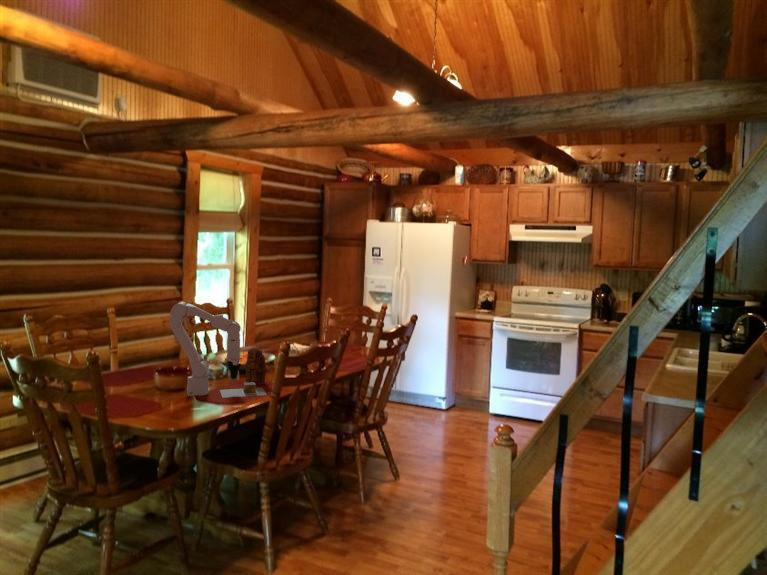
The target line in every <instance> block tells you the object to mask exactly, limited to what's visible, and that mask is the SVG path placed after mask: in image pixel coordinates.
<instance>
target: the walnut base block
mask: <svg viewBox="0 0 767 575" xmlns="http://www.w3.org/2000/svg"><path fill="white" fill-rule="evenodd" d="M256 388H257V385H256V384H255V382H246V381H245V382H243V388H242V389H243V391H244V393H245V394H248V393H256Z"/></svg>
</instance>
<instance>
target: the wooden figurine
mask: <svg viewBox="0 0 767 575" xmlns="http://www.w3.org/2000/svg"><path fill="white" fill-rule="evenodd" d="M246 356H247V357H246V361H245V362H246V364H245V366H246V367H245V383H246V382H255V384H256V386H258V385H264V384H265V382H266V357H265V356H264V353H263V351H262V350H261V349H260V348H257V347H251V348H249V349H248V350H247V355H246Z"/></svg>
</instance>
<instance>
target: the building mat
mask: <svg viewBox="0 0 767 575" xmlns="http://www.w3.org/2000/svg"><path fill="white" fill-rule="evenodd" d="M243 389H244V388H230V389H228V388H227V389H219V392H220V395H221V397H222V399H223V398H225V399H226V398H239V397H240V398H241V397H258V396H267V395H268V394H267V392H266V391H265V389H264V388H263V387H256V393H248V394H245V393H244V391H243Z"/></svg>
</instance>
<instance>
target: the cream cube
mask: <svg viewBox="0 0 767 575" xmlns="http://www.w3.org/2000/svg"><path fill="white" fill-rule="evenodd" d="M227 379H228V381H239V380H240V370H238V374H237V378H236V379H232V378H231V373H230V370H229V369H228V370H227Z"/></svg>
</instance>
